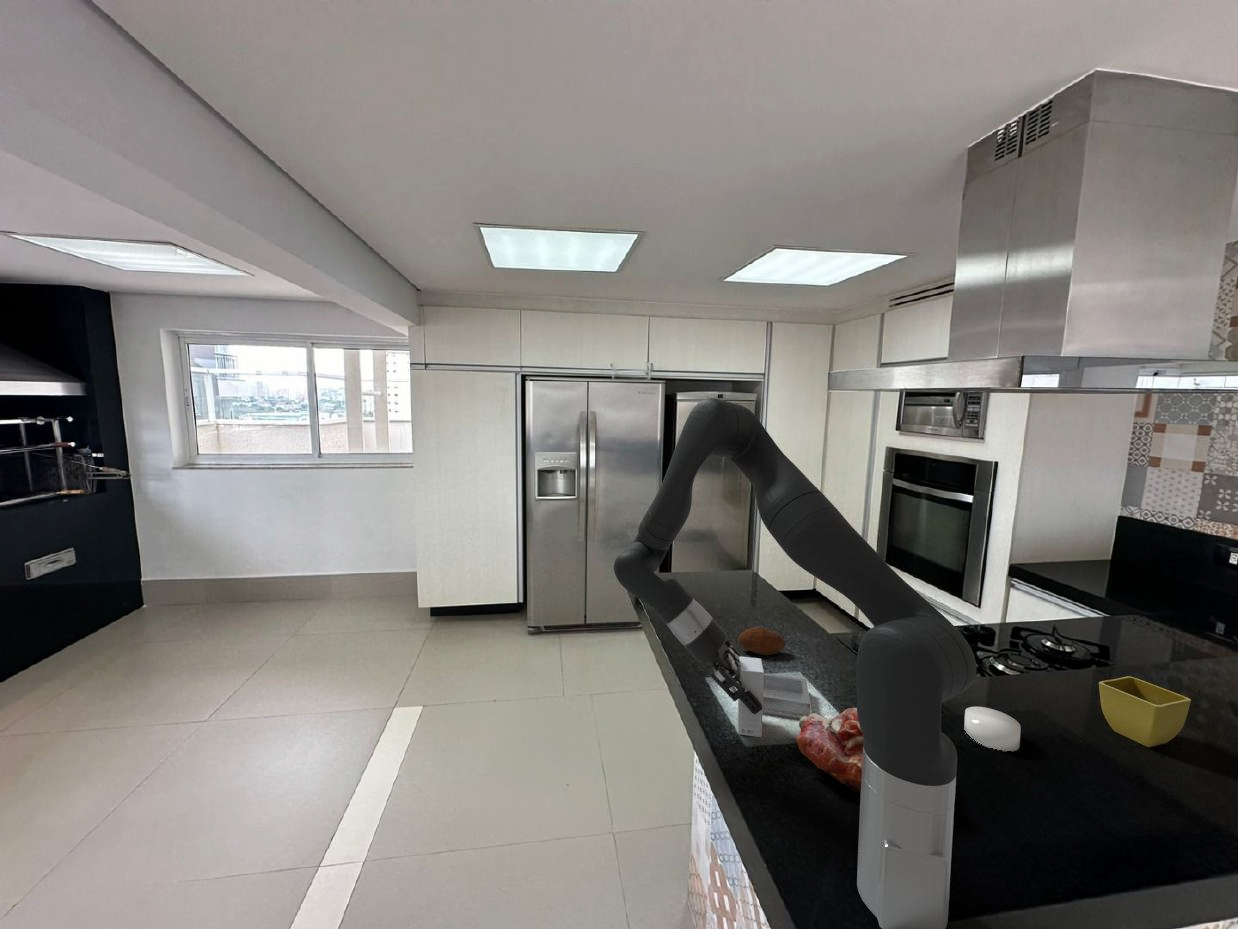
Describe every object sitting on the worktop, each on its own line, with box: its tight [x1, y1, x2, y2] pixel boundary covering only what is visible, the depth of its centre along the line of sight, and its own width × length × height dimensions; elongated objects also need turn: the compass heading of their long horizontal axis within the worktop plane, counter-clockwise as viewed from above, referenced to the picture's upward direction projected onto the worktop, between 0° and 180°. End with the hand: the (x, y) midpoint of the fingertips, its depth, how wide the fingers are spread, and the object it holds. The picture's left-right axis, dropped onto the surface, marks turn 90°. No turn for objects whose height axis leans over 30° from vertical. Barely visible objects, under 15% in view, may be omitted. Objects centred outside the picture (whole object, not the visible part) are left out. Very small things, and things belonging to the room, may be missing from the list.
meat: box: [796, 707, 863, 795], centre depth 82 cm, size 21×21×10 cm
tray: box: [763, 672, 813, 720], centre depth 101 cm, size 11×13×3 cm
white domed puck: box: [963, 706, 1022, 752], centre depth 89 cm, size 8×8×4 cm
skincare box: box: [736, 656, 765, 738], centre depth 91 cm, size 6×4×12 cm
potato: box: [737, 626, 786, 656], centre depth 122 cm, size 6×12×6 cm, turn 87°
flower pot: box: [1098, 675, 1192, 748], centre depth 89 cm, size 9×9×9 cm
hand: (758, 700), depth 91 cm, fingers open, 6 cm apart
